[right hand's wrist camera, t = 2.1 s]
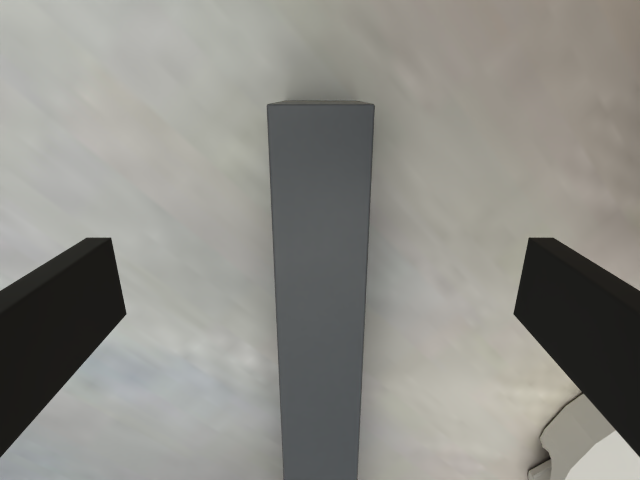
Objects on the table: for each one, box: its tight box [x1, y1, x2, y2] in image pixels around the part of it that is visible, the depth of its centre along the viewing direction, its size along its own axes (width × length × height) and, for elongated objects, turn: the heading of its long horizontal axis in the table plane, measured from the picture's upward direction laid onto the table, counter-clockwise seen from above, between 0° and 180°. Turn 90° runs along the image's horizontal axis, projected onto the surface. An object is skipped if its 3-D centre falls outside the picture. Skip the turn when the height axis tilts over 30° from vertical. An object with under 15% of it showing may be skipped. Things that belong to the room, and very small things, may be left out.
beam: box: [267, 101, 375, 480], centre depth 31 cm, size 51×5×9 cm, turn 0°
